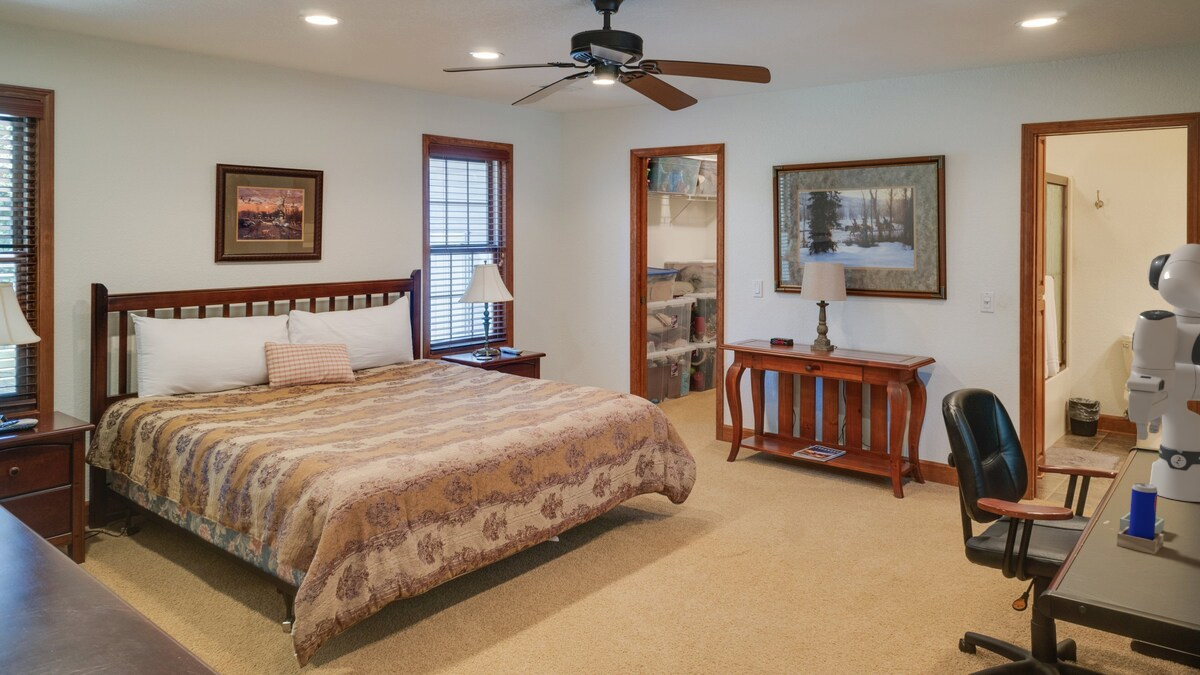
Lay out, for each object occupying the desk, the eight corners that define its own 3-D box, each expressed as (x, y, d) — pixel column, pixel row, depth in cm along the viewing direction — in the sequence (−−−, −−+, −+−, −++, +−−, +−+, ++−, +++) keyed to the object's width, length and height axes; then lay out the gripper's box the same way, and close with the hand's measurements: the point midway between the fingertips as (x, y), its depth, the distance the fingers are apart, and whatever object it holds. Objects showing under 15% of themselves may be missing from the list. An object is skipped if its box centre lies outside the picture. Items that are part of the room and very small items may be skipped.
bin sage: (1128, 523, 220) (1129, 512, 220) (1163, 530, 214) (1164, 519, 214) (1119, 530, 215) (1120, 518, 214) (1154, 537, 209) (1155, 526, 209)
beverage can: (1157, 550, 201) (1161, 489, 199) (1132, 548, 202) (1137, 487, 200) (1148, 543, 206) (1152, 483, 204) (1124, 541, 207) (1128, 482, 205)
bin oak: (1126, 537, 209) (1127, 526, 209) (1163, 546, 203) (1164, 534, 203) (1116, 545, 204) (1117, 533, 203) (1154, 554, 198) (1154, 541, 198)
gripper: (1149, 372, 209) (1145, 427, 211) (1124, 382, 195) (1120, 440, 197) (1179, 375, 204) (1175, 431, 206) (1155, 385, 191) (1151, 445, 192)
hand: (1148, 436), depth 201 cm, fingers open, 8 cm apart
